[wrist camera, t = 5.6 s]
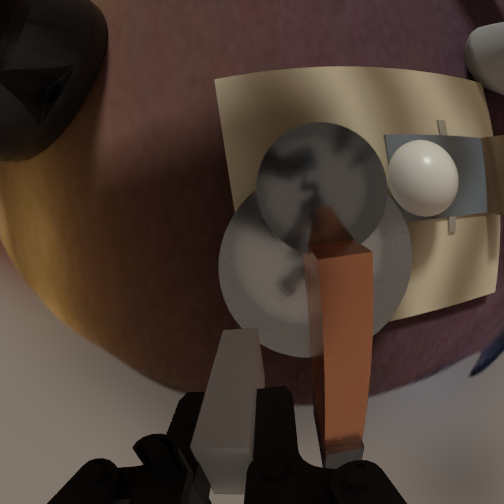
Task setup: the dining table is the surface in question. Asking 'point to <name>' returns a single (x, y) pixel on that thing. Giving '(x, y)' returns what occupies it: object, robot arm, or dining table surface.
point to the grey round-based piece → (320, 269)
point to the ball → (423, 178)
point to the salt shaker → (487, 56)
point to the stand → (387, 158)
